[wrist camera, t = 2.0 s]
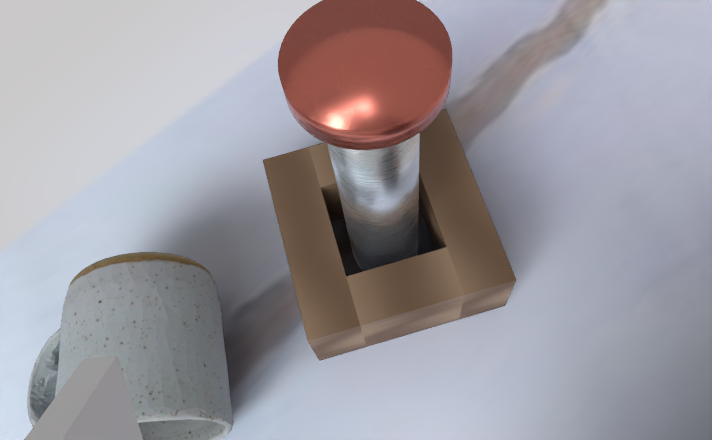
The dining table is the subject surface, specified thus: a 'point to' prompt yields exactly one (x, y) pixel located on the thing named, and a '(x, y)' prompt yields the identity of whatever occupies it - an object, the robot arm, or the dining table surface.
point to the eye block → (399, 279)
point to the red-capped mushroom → (370, 109)
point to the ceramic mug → (145, 343)
